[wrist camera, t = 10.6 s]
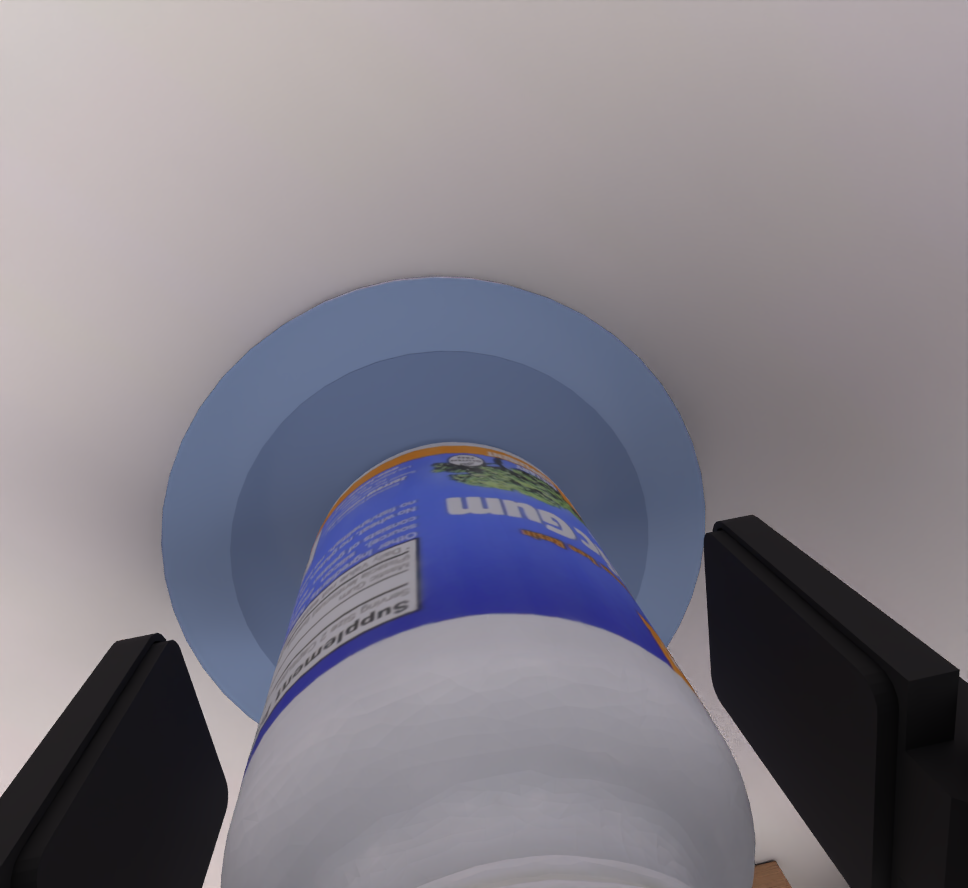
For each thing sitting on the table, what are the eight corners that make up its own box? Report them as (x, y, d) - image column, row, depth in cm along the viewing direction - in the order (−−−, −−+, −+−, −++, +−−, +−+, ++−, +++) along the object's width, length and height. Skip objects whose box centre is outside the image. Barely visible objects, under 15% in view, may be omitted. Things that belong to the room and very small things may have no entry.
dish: (664, 234, 13) (693, 232, 12) (695, 686, 16) (720, 723, 15) (108, 327, 12) (75, 336, 11) (258, 781, 16) (244, 828, 14)
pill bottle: (632, 544, 14) (1141, 1183, 4) (460, 720, 14) (577, 1594, 5) (435, 375, 12) (569, 803, 3) (253, 582, 13) (-132, 1474, 3)
